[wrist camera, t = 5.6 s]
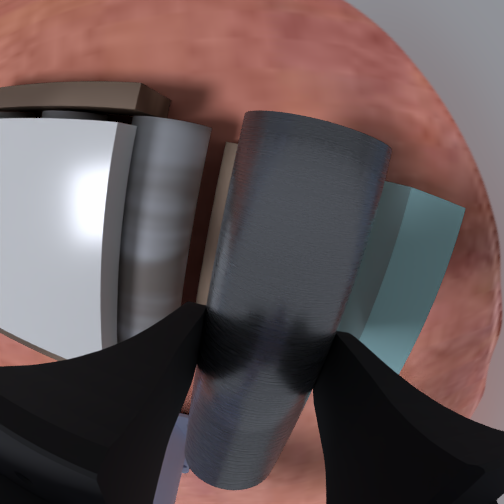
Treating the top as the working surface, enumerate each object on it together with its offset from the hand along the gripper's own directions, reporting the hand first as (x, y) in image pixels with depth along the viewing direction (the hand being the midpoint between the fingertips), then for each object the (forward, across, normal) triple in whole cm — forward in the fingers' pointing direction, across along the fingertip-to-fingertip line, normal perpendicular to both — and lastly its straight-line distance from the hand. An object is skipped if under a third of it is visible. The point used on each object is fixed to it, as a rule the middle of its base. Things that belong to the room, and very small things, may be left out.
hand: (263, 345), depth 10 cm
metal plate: (+5, +14, 0) cm, 15 cm away
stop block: (+9, -6, 0) cm, 11 cm away
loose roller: (+2, 0, 0) cm, 2 cm away
